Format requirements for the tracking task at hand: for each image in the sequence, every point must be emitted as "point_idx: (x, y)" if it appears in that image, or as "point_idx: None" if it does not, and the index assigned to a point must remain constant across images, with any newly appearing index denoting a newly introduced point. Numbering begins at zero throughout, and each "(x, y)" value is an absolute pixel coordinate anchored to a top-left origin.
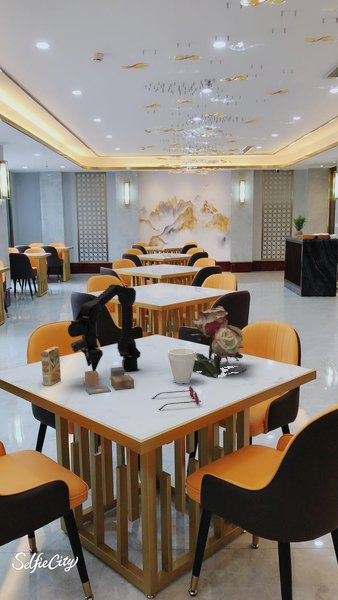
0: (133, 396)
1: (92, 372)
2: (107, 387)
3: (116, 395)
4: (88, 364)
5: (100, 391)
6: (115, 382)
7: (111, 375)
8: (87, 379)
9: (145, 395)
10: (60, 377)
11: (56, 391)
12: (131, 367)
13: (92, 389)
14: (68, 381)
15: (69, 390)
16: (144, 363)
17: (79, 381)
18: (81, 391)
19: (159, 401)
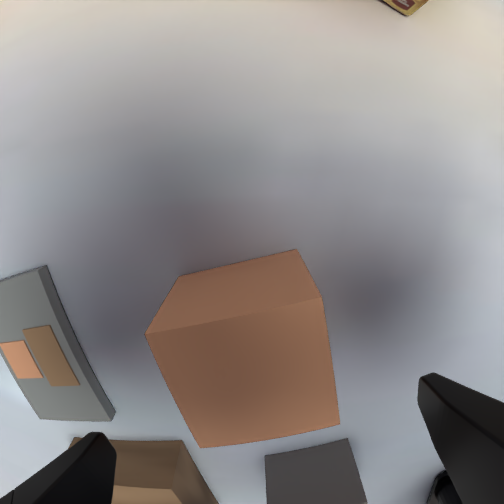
0: (19, 461)
1: (244, 399)
2: (79, 416)
3: (7, 416)
4: (429, 395)
5: (5, 362)
6: None
7: (332, 465)
8: (164, 305)
9: None
10: (415, 3)
11: (65, 16)
12: (441, 501)
13: (25, 319)
14: (366, 76)
15: (60, 114)
16: None
17: (346, 189)
18: (28, 226)
19: (8, 490)
